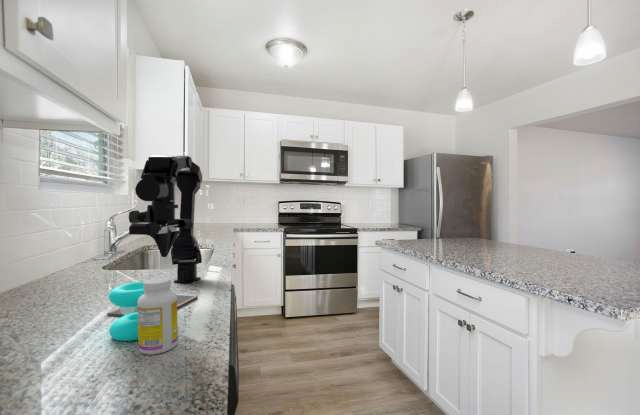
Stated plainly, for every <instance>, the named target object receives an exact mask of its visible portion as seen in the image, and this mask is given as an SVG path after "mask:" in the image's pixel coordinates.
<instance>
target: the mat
mask: <svg viewBox="0 0 640 415" xmlns="http://www.w3.org/2000/svg"><path fill="white" fill-rule="evenodd" d="M176 295H177V310H178V309H181V308H182V307H184V306H186V305H188V304H190V303H192V302H193V301H195V300H197V299H198V298H199V296H198V295H183V294H182V295H181V294H180V295H179V294H176ZM106 315H107V316H108V317H119V318H121V317H123V316H125V315H123V314H122V313H121V311H120V307H119V308H116V309H114V310H111V311H109V312H108V311H107V314H106Z"/></svg>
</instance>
